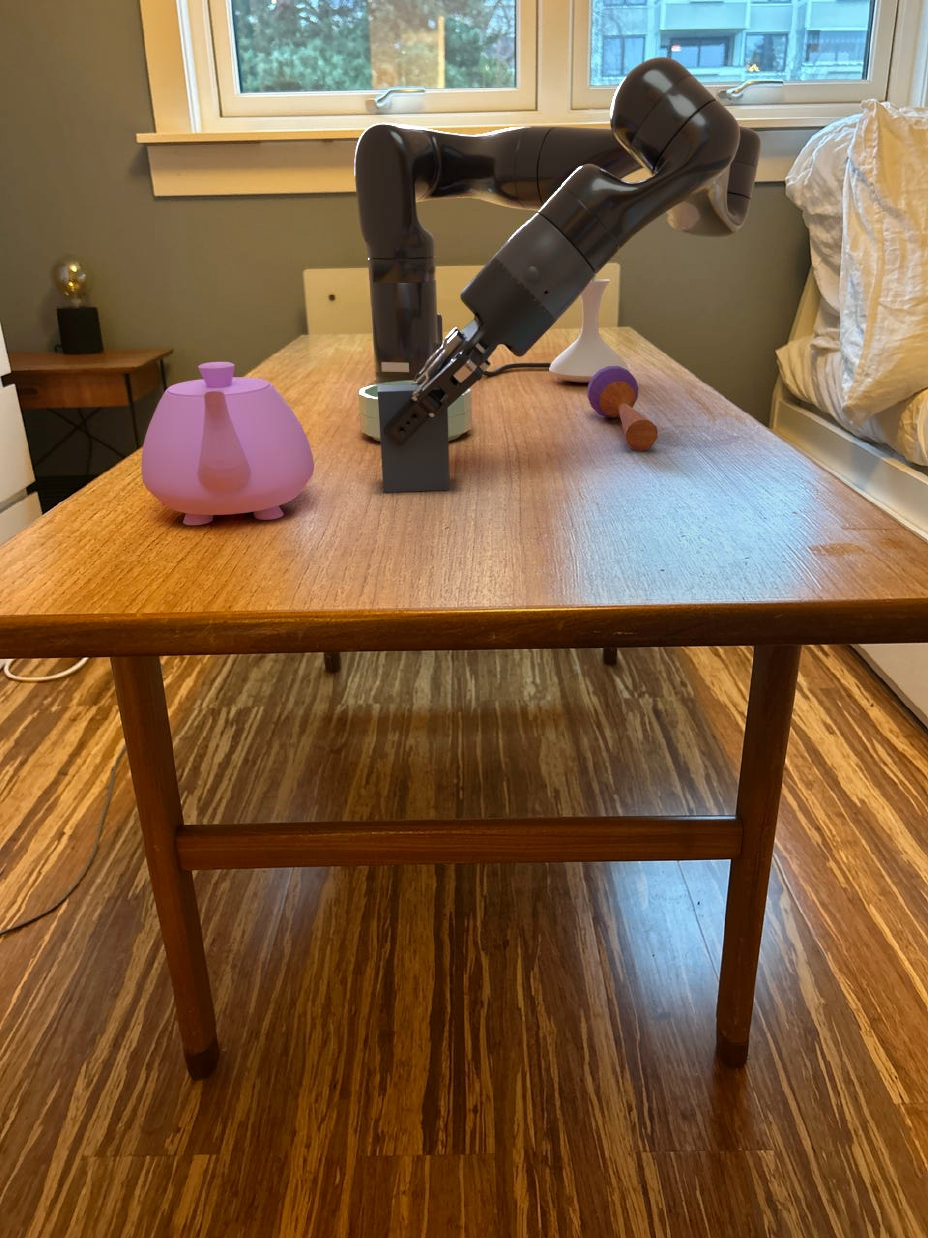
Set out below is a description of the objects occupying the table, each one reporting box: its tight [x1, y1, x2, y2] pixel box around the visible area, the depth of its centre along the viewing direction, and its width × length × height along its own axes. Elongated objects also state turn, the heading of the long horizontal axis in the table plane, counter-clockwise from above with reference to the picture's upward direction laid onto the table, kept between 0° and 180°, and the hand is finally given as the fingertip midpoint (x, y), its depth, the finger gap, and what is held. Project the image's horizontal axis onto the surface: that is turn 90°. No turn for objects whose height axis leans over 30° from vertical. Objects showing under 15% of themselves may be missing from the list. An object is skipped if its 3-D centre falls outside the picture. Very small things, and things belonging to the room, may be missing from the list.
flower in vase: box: [548, 274, 629, 384], centre depth 125 cm, size 13×11×25 cm
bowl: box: [358, 380, 473, 443], centre depth 101 cm, size 12×12×5 cm
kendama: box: [586, 366, 659, 452], centre depth 101 cm, size 6×6×20 cm
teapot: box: [140, 361, 315, 526], centre depth 74 cm, size 20×14×12 cm
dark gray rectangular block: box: [378, 384, 451, 493], centre depth 81 cm, size 3×6×9 cm, turn 94°
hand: (391, 433), depth 81 cm, fingers closed on dark gray rectangular block, 3 cm apart
